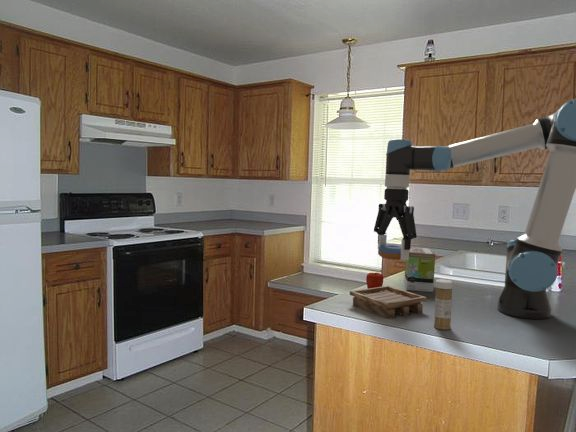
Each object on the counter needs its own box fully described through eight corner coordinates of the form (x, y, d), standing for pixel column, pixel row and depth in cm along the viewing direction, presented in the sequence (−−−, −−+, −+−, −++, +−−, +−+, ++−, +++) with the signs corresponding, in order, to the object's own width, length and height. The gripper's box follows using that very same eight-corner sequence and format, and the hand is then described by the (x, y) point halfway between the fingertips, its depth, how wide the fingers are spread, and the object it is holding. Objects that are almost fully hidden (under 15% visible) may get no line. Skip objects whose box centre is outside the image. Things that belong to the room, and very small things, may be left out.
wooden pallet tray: (425, 311, 139) (426, 297, 138) (385, 319, 130) (386, 303, 130) (387, 299, 153) (388, 285, 153) (349, 305, 144) (349, 291, 144)
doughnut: (387, 252, 150) (388, 239, 149) (414, 258, 143) (415, 245, 142) (371, 258, 143) (372, 245, 142) (399, 265, 136) (400, 251, 135)
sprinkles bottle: (446, 325, 126) (448, 278, 125) (453, 330, 121) (455, 282, 120) (431, 325, 126) (433, 278, 125) (437, 330, 121) (439, 282, 120)
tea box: (434, 292, 164) (436, 253, 163) (406, 290, 166) (408, 252, 165) (429, 283, 179) (431, 247, 178) (404, 282, 181) (405, 246, 180)
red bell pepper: (374, 295, 158) (374, 275, 157) (362, 291, 163) (362, 271, 162) (386, 293, 161) (387, 273, 160) (374, 289, 166) (375, 270, 166)
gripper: (432, 189, 133) (427, 262, 135) (382, 187, 152) (378, 250, 154) (413, 189, 129) (409, 264, 131) (365, 186, 149) (361, 251, 151)
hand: (392, 256), depth 143 cm, fingers closed on doughnut, 10 cm apart
